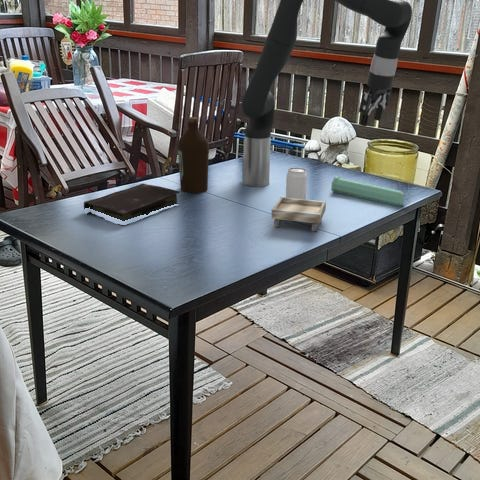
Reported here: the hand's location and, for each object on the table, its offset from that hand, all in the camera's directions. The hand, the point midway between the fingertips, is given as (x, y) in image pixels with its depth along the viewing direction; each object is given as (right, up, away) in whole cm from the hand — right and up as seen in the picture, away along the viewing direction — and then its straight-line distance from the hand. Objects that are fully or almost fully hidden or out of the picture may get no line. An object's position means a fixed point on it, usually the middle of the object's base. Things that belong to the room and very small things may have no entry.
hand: (370, 122), depth 186 cm
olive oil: (-57, -19, +21) cm, 64 cm away
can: (-23, -26, +7) cm, 35 cm away
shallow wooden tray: (-23, -32, -9) cm, 40 cm away
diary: (-74, -28, +2) cm, 79 cm away
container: (+2, -23, +15) cm, 28 cm away
